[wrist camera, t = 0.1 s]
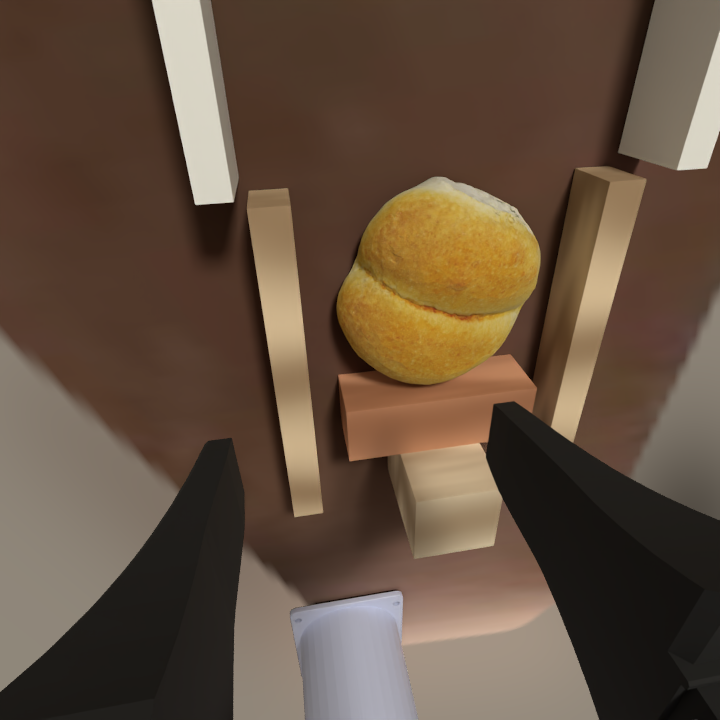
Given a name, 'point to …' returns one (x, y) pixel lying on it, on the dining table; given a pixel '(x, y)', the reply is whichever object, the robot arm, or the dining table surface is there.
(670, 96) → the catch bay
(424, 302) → the bread roll
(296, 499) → the slot rails
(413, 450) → the two-tone t block
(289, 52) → the dining table surface
